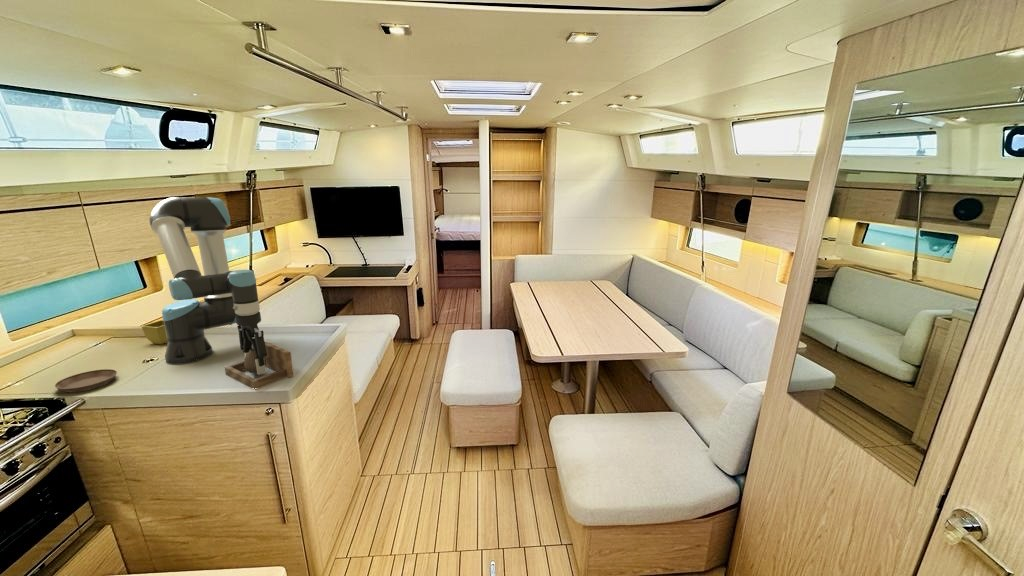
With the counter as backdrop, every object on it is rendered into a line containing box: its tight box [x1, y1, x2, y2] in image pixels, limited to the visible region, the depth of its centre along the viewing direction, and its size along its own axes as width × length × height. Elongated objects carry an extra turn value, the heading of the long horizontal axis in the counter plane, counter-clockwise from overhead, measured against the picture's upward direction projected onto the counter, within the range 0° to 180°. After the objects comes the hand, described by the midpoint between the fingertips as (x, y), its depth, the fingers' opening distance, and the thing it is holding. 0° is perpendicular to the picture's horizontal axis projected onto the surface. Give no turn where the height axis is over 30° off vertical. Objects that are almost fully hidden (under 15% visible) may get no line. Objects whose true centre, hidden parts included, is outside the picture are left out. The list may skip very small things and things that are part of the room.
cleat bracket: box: [224, 341, 294, 390], centre depth 143 cm, size 24×13×10 cm, turn 59°
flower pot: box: [140, 319, 168, 345], centre depth 171 cm, size 9×9×9 cm
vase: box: [243, 349, 266, 374], centre depth 142 cm, size 7×7×9 cm
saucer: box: [54, 368, 118, 393], centre depth 134 cm, size 15×15×3 cm
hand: (256, 370), depth 143 cm, fingers closed on vase, 7 cm apart
